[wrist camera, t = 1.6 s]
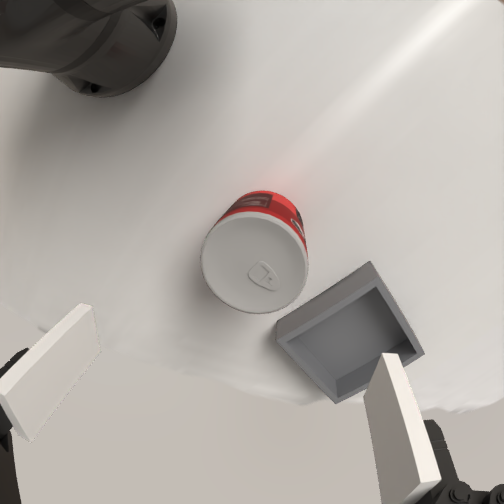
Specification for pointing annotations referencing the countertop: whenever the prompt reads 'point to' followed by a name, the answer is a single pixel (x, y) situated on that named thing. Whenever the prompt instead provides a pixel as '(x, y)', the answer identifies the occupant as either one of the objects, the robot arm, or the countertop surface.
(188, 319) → the countertop surface
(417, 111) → the countertop surface
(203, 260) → the canned food
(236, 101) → the countertop surface
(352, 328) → the tray
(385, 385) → the robot arm
